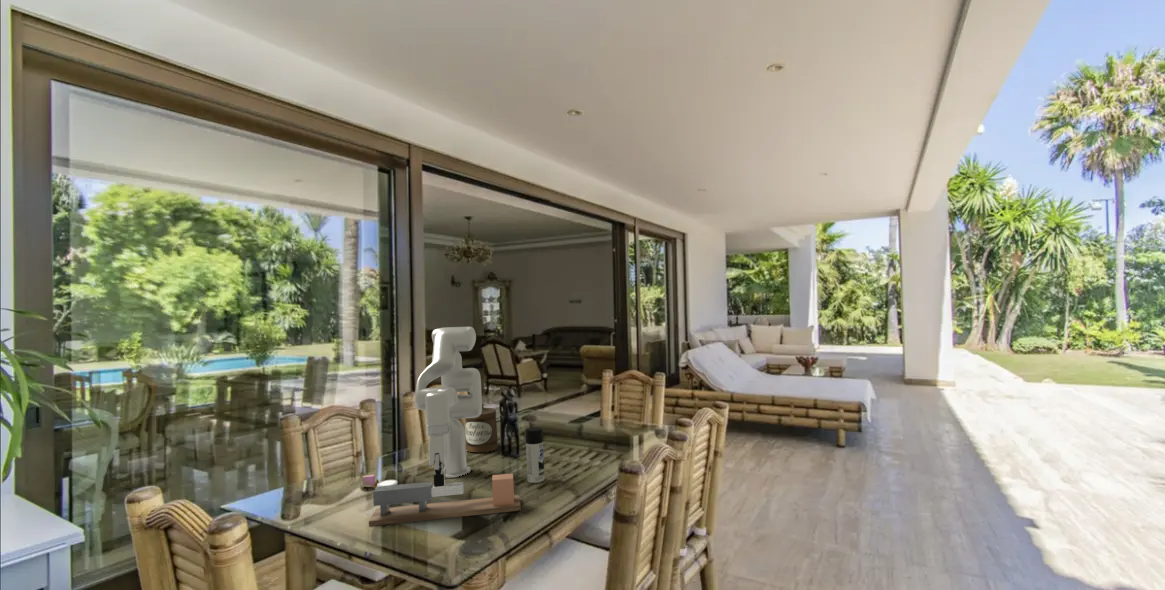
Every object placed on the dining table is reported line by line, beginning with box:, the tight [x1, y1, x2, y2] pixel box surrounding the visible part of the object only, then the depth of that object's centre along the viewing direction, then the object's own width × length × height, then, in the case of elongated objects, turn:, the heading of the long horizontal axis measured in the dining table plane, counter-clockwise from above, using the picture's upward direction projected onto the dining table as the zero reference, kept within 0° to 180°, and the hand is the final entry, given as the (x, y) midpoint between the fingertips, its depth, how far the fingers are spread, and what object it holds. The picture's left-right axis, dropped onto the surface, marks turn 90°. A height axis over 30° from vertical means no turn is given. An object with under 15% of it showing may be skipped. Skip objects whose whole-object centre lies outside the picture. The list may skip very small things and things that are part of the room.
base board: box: [368, 494, 522, 527], centre depth 173 cm, size 10×48×2 cm, turn 99°
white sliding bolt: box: [431, 465, 465, 498], centre depth 171 cm, size 4×27×9 cm, turn 99°
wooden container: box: [464, 402, 499, 453], centre depth 245 cm, size 15×15×22 cm
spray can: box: [524, 426, 546, 484], centre depth 200 cm, size 7×7×20 cm
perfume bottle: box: [361, 474, 380, 490], centre depth 200 cm, size 12×12×4 cm
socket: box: [491, 472, 515, 506], centre depth 176 cm, size 5×7×8 cm
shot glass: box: [377, 479, 398, 506], centre depth 183 cm, size 7×7×7 cm
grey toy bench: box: [372, 481, 433, 516], centre depth 171 cm, size 5×18×8 cm, turn 99°
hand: (440, 483), depth 172 cm, fingers closed on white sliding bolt, 4 cm apart
